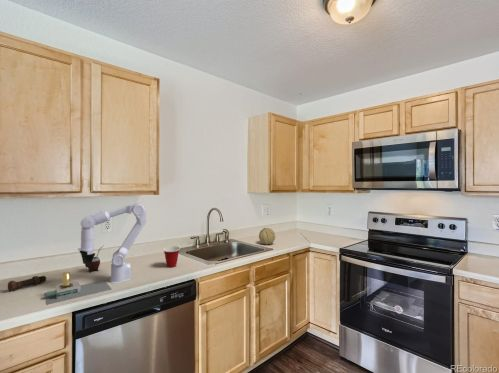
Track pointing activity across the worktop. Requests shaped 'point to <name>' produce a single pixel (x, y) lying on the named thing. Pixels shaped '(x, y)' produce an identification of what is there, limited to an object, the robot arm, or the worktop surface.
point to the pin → (66, 280)
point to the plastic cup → (171, 255)
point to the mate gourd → (95, 263)
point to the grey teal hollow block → (66, 290)
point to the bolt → (25, 283)
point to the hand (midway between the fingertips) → (86, 265)
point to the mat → (85, 290)
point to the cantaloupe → (267, 236)
